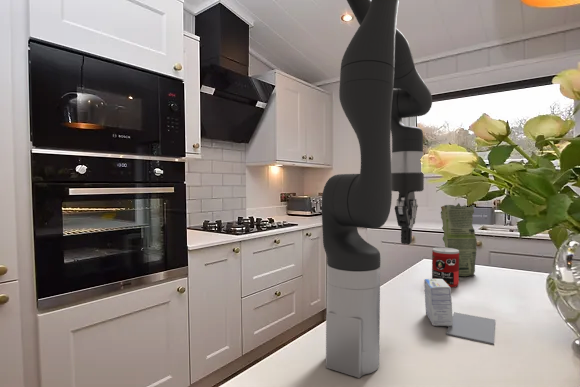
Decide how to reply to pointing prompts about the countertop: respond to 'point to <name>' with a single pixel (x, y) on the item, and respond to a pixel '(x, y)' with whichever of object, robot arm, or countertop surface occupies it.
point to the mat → (472, 328)
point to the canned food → (446, 265)
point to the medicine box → (438, 302)
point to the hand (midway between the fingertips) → (406, 243)
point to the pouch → (460, 235)
